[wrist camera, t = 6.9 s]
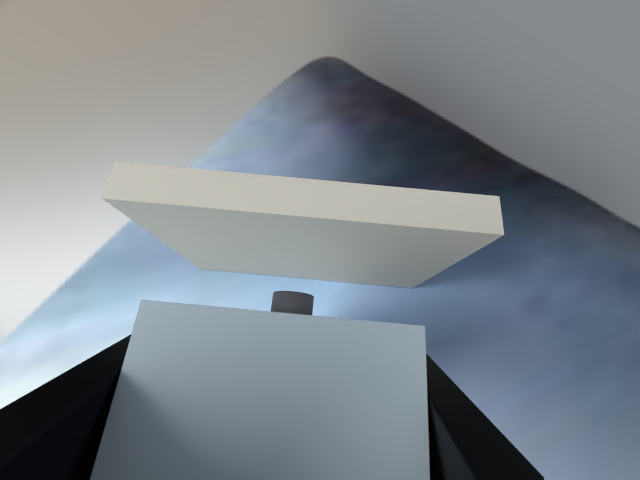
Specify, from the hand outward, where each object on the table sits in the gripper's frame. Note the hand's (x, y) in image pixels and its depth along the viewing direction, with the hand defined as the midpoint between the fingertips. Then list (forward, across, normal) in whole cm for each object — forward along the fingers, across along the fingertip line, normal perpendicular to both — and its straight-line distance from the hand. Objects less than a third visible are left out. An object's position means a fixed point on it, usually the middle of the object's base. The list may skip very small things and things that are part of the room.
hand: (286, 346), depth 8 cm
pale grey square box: (+4, 0, +6) cm, 7 cm away
